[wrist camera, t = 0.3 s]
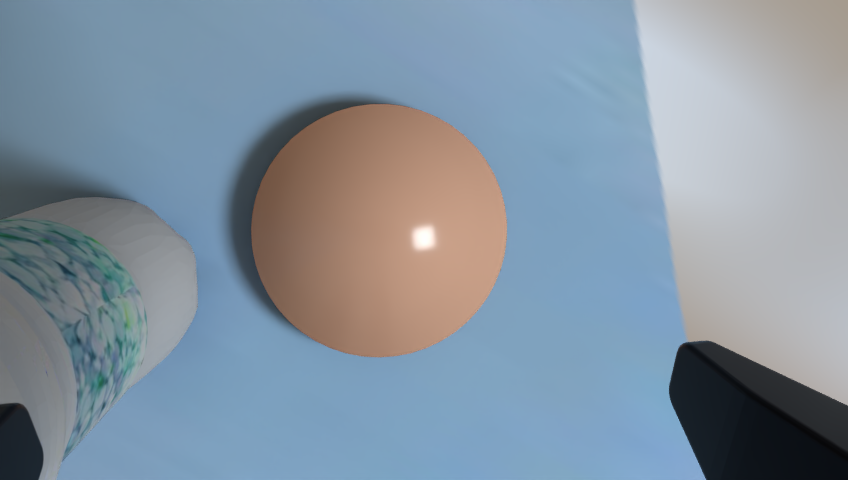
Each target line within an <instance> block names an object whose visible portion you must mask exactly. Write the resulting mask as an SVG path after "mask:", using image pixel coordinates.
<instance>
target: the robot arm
mask: <svg viewBox="0 0 848 480" xmlns="http://www.w3.org/2000/svg"><path fill="white" fill-rule="evenodd" d="M669 395H670V400H671V403H672V405H673V408H674V410H675V412H676V414H677V416H678V419H679V421H680V423H681V425H682V427H683V430H684V432H685V434H686V436H687V438H688V441H689V443H690V445H691V447H692V449H693V452H694V454H695V456H696V458H697V460H698V463H699V465H700V467H701V469H702V471H703V474H704V476H705V478H706V480H848V406H847V405H845V404H843V403H841V402H839V401H837V400H835V399H832V398H830V397H828V396H826V395H824V394H822V393H820V392H817V391H815V390H813V389H811V388H809V387H807V386H805V385H803V384H801V383H798V382H796V381H794V380H792V379H790V378H788V377H786V376H783V375H782V374H779V373H777V372H775V371H773V370H771V369H769V368H766V367H765V366H762V365H760V364H758V363H756V362H754V361H752V360H750V359H748V358H746V357H743V356H741V355H739V354H737V353H735V352H733V351H731V350H729V349H727V348H724V347H722V346H720V345H718V344H716V343H714V342H711V341H697V342H686V343H683V344H682V345H680V347H679V348H678V351H677V354H676V359H675V363H674V367H673V372H672V376H671V380H670V385H669ZM43 462H44V453H43V448H42V445H41V442H40V440H39V437H38V434H37V432H36V429H35V427H34V424H33V422H32V419H31V417H30V414H29V412H28V410H27V408H26V407H25V406H24V405H23V404H20V403H4V404H0V480H39V478H40V474H41V471H42V468H43Z"/></svg>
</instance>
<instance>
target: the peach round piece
mask: <svg viewBox="0 0 848 480" xmlns="http://www.w3.org/2000/svg"><path fill="white" fill-rule="evenodd" d="M251 237H252V249H253V254H254V259H255V264H256V267H257V270H258V273H259V276H260V279H261V281H262V283H263V285H264V287H265V289H266V291H267V293H268V295H269V297H270V298H271V299H272V301H273V302H274V304H275V305H276V307H277V308H278V309H279V311H280V312H281V313H282V314H283V315H284V316H285V317H286V318H287V319H288V321H289V322H291V323H292V324H293V325H294V326H295V327H296V328H298V329H299V330H300V331H301V332H302V333H304V334H306V335H307V336H309V337H310V338H312V339H313V340H315V341H317V342H319V343H321V344H323V345H325V346H327V347H329V348H332V349H335V350H338V351H341V352H344V353H348V354H353V355H358V356H366V357H390V356H398V355H403V354H409V353H412V352H416V351H419V350H422V349H425V348H427V347H429V346H431V345H434V344H436V343H438V342H440V341H442V340H443V339H445V338H446V337H448V336H450V335H451V334H453V333H454V332H455V331H457V330H458V329H459V328H460V327H462V326H463V325H464V324H465V323H466V322H467V321H468V320H469V319H470V318H471V317H472V316H473V315H474V314H475V313H476V312H477V311H478V309H479V308H480V307H481V305H482V304H483V303H484V301H485V300H486V299H487V297H488V295H489V293H490V292H491V290H492V288H493V286H494V284H495V282H496V279H497V277H498V274H499V272H500V270H501V266H502V262H503V258H504V254H505V247H506V240H507V220H506V212H505V205H504V201H503V197H502V194H501V190H500V187H499V185H498V183H497V180H496V178H495V175H494V173H493V172H492V170H491V168H490V166H489V165H488V163H487V161H486V160H485V158H484V157H483V156H482V154H481V153H480V152H479V150H478V149H477V148H476V147H475V146H474V145H473V144H472V143H471V142H470V141H469V140H468V139H467V138H466V137H465V136H464V135H463V134H462V133H460V132H459V131H458V130H456V129H455V128H454V127H453V126H451V125H450V124H448V123H446V122H444V121H443V120H441V119H439V118H437V117H435V116H433V115H431V114H428V113H426V112H423V111H421V110H417V109H413V108H409V107H406V106H399V105H391V104H368V105H361V106H354V107H350V108H347V109H343V110H340V111H336V112H334V113H331V114H329V115H327V116H325V117H322V118H320V119H318V120H317V121H315V122H314V123H312V124H310V125H309V126H307V127H305V128H304V129H303V130H302V131H300V132H299V133H298V134H297V135H295V136H294V137H293V138H292V139H291V140H290V141H289V142H288V143H287V144H286V145H285V146H284V147H283V148H282V149H281V151H280V152H279V153H278V154H277V156H276V157H275V159H274V160H273V162H272V163H271V164H270V166H269V168H268V170H267V172H266V174H265V175H264V177H263V179H262V181H261V184H260V187H259V190H258V193H257V195H256V199H255V204H254V208H253V213H252V226H251Z"/></svg>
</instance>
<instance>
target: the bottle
mask: <svg viewBox="0 0 848 480" xmlns="http://www.w3.org/2000/svg"><path fill="white" fill-rule="evenodd" d="M197 295H198V286H197V276H196V259H195V255H194V252H193V250H192V247H191V245H190V244H189V243H188V242H187V240H185V239H184V238H183V237H182V236H180V235H179V234H178V233H177V232H176V231H174V230H173V229H172V228H171V227H170V226H169V225H168V224H167V223H166V222H165V221H164V220H162V219H161V218H160V217H159V216H158V215H157V214H156V213H155V212H154V211H153V210H151V209H150V208H149V207H147V206H145V205H142V204H140V203H137V202H134V201H130V200H124V199H113V198H103V197H88V198H74V199H69V200H65V201H60V202H56V203H52V204H48V205H44V206H41V207H38V208H35V209H32V210H29V211H26V212H23V213H20V214H17V215H14V216H11V217H8V218H5V219H0V404H4V403H20V404H23V405H24V406H25V407H26V408H27V410H28V412H29V414H30V417H31V419H32V422H33V424H34V427H35V429H36V432H37V434H38V437H39V440H40V442H41V445H42V448H43V453H44V462H43V468H42V471H41V474H40V478H39V480H56V478H57V475H58V471H59V468H60V465H61V462H62V461H63V460H64V459H65V458H66V457H67V456H68V455H69V454H70V453H71V451H72V450H73V449H74V448H75V447H76V446H77V445H78V444H79V443H80V442H81V441H82V440H83V438H84V437H85V436H86V435H87V434H88V433H89V432H90V431H91V430H92V429H93V428H94V426H95V425H96V424H97V423H98V422H99V421H100V420H101V419H102V418H103V417H104V416H105V414H106V413H107V412H108V411H109V410H110V409H111V408H112V407H113V406H114V405H115V404H116V402H117V401H118V400H119V399H120V398H121V397H122V396H123V395H124V394H125V392H126V391H127V390H128V389H129V388H130V387H132V386H133V385H134V384H135V383H137V382H138V381H139V380H140V379H142V378H143V377H144V376H145V375H146V374H148V373H149V372H150V371H151V370H152V369H154V368H155V367H156V366H157V365H158V364H159V363H160V362H161V361H162V360H163V359H165V358H166V357H167V356H168V355H169V354H170V352H171V351H172V350H173V349H174V348H175V347H176V345H177V344H178V343H179V341H180V340H181V339H182V337H183V336H184V334H185V333H186V331H187V329H188V328H189V326H190V324H191V322H192V321H193V318H194V316H195V313H196V310H197V307H198V298H197Z"/></svg>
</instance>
